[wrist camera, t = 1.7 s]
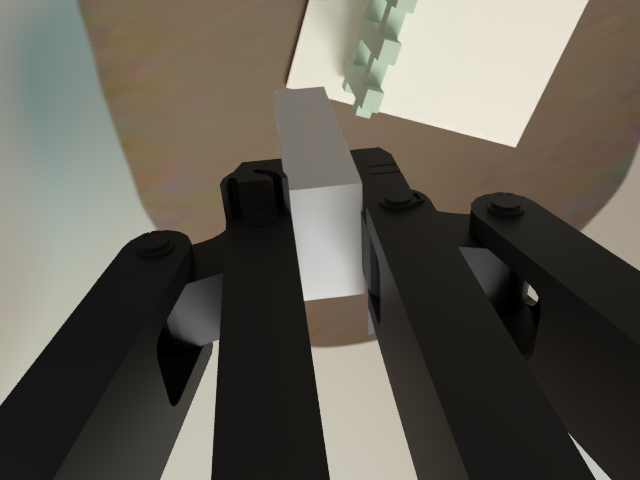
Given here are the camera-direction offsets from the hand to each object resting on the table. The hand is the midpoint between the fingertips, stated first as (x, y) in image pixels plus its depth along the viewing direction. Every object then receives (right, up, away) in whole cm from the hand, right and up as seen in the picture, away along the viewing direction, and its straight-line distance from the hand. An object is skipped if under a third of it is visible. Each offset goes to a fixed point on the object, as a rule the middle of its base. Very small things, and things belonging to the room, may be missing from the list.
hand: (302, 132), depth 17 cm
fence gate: (+4, +12, +19) cm, 23 cm away
